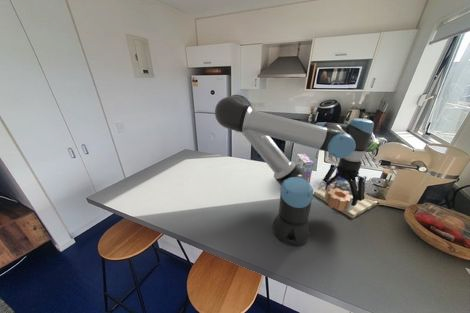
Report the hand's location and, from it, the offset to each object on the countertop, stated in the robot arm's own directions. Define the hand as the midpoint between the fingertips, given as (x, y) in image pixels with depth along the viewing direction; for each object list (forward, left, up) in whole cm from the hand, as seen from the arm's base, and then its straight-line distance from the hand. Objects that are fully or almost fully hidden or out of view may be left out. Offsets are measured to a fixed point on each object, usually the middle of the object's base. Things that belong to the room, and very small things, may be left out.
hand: (337, 203), depth 79 cm
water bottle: (+38, +21, -9) cm, 44 cm away
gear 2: (0, 0, 0) cm, 0 cm away
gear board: (+19, +7, -9) cm, 22 cm away
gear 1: (+23, +10, -7) cm, 26 cm away
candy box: (+12, +32, -9) cm, 35 cm away
